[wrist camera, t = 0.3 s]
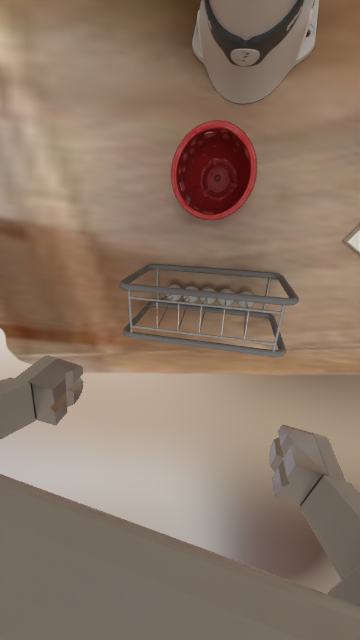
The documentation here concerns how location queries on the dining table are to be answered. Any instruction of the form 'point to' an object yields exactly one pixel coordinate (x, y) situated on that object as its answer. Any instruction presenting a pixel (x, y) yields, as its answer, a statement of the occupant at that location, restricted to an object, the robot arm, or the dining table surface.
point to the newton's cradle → (209, 297)
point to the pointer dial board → (354, 239)
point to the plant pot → (214, 170)
